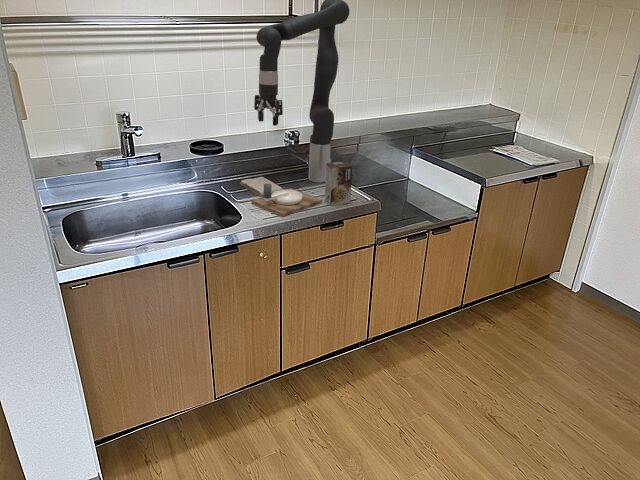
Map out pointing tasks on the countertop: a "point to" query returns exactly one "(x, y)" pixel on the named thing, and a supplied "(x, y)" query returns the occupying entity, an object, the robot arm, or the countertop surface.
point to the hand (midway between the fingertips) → (268, 123)
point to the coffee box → (338, 183)
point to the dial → (282, 196)
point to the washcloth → (259, 185)
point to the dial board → (287, 209)
